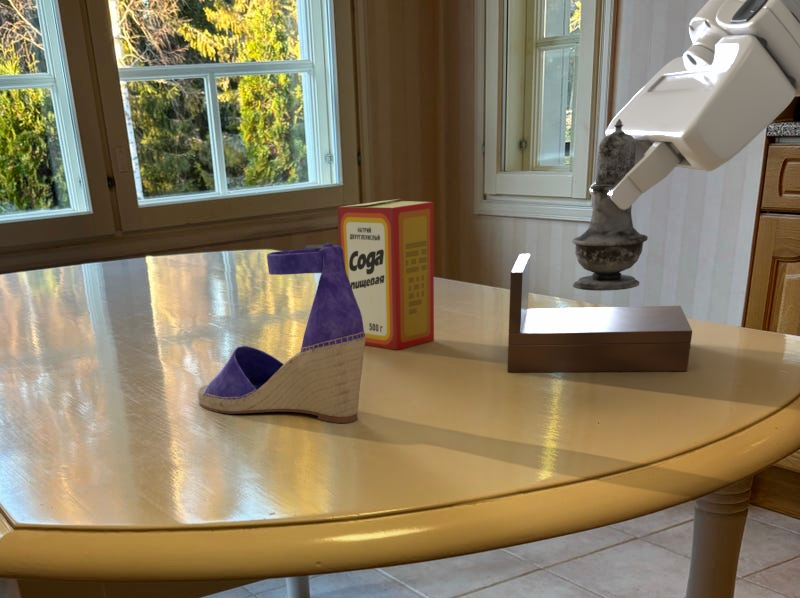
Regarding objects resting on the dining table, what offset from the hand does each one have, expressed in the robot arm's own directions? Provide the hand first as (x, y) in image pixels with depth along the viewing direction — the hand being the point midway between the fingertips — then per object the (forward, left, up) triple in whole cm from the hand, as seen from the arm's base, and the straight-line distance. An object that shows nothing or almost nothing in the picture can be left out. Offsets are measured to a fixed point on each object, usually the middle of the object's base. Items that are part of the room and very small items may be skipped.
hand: (605, 201), depth 74 cm
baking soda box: (+24, -34, -18) cm, 46 cm away
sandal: (+29, -2, -18) cm, 34 cm away
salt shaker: (-1, 0, -7) cm, 7 cm away
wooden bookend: (-1, -24, -17) cm, 30 cm away
